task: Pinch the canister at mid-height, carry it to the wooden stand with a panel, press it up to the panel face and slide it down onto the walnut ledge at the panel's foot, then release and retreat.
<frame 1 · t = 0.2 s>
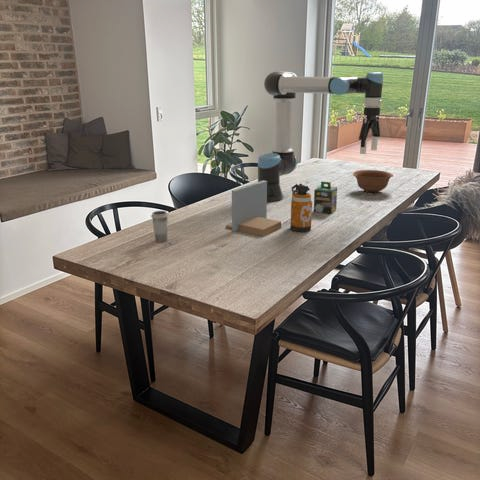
hand: (368, 152, 238), 28 cm above the table, fingers open, 13 cm apart
canister: (299, 229, 215), on the table
cup: (161, 241, 201), on the table
wooden stand with panel: (249, 224, 221), on the table
bowl: (371, 192, 277), on the table
chalk box: (324, 211, 242), on the table
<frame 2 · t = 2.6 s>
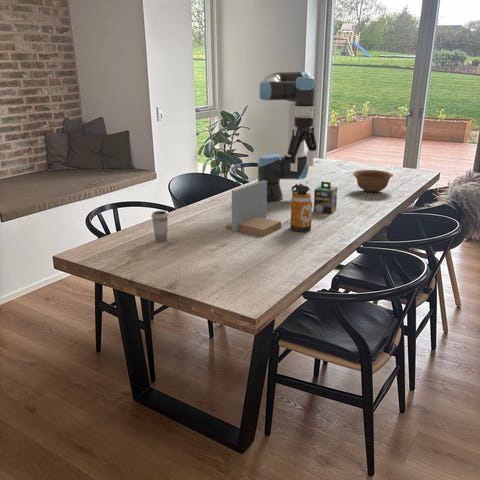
hand: (301, 168, 206), 27 cm above the table, fingers open, 13 cm apart
nothing on the table moved.
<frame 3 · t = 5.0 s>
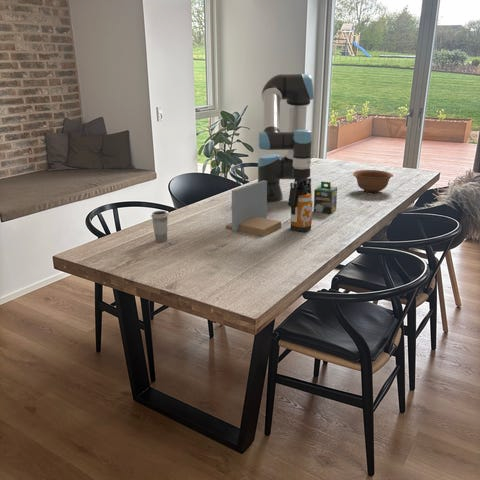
hand: (299, 218, 213), 5 cm above the table, fingers closed on canister, 9 cm apart
canister: (299, 228, 215), on the table, touching gripper
everything else where it was.
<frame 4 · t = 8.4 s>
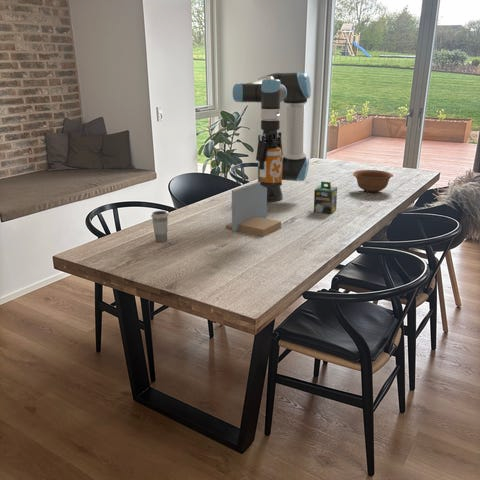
hand: (269, 175, 204), 25 cm above the table, fingers closed on canister, 9 cm apart
canister: (269, 186, 205), point 20 cm above the table, touching gripper
everything else where it was.
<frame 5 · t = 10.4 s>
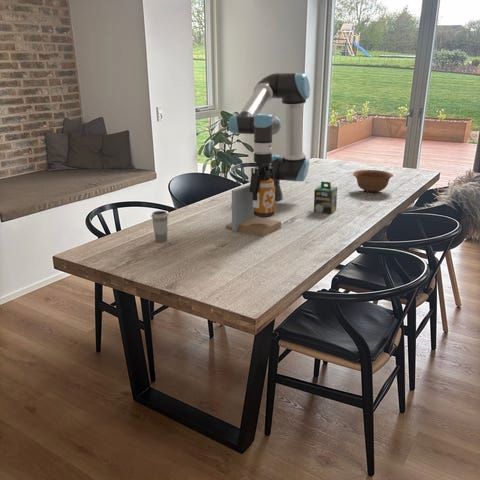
hand: (262, 204, 210), 11 cm above the table, fingers closed on canister, 9 cm apart
canister: (262, 215, 212), point 6 cm above the table, touching gripper
everything else where it was.
when the fingers open (8 cm above the table, at t = 11.9 s): canister stays where it is, resting on wooden stand with panel.
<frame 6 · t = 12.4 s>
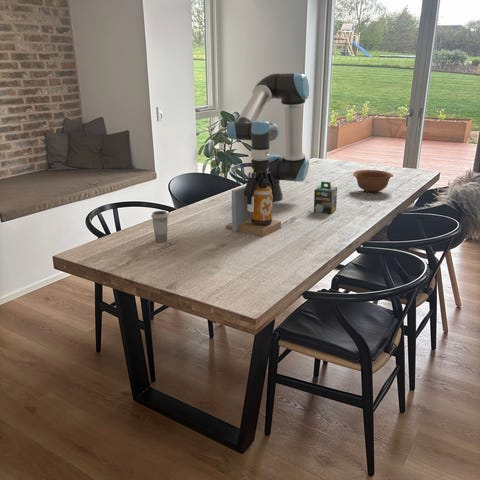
hand: (259, 207, 211), 10 cm above the table, fingers open, 13 cm apart
canister: (260, 222, 214), point 3 cm above the table, touching wooden stand with panel
everything else where it was.
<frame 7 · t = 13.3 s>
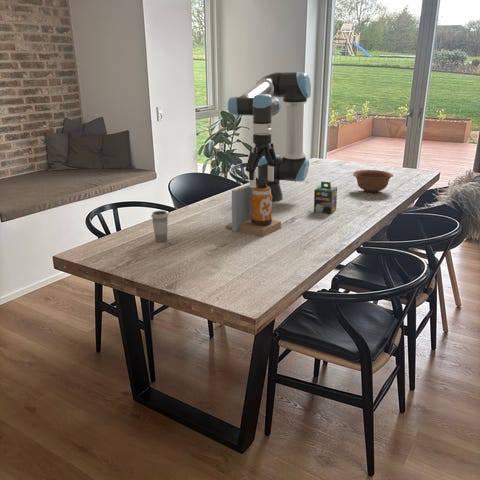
hand: (261, 184, 208), 20 cm above the table, fingers open, 13 cm apart
nothing on the table moved.
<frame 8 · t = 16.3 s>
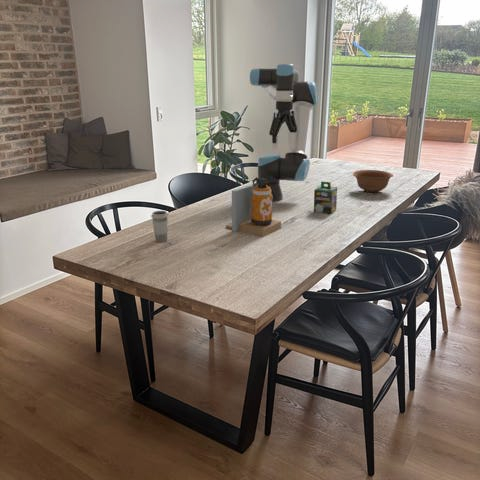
hand: (283, 148, 225), 32 cm above the table, fingers open, 13 cm apart
nothing on the table moved.
at the end: canister inside the target area (0.9 cm from its centre), point 2.8 cm above the table; canister tilted 0°; canister touching wooden stand with panel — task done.
